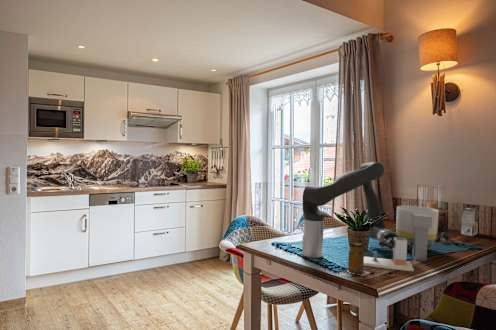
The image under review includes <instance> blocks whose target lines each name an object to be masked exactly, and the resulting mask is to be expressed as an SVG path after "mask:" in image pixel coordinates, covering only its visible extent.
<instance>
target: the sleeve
mask: <svg viewBox="0 0 496 330" xmlns="http://www.w3.org/2000/svg"><path fill="white" fill-rule="evenodd" d="M407 252H408V249H407V240H406V239H405V238H398V237H394V246H393V250H392V260H393V263H394V264H395V265H403V266H406V261H407Z"/></svg>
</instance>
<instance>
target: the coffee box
mask: <svg viewBox="0 0 496 330" xmlns="http://www.w3.org/2000/svg"><path fill="white" fill-rule="evenodd" d="M479 211H480V209H479V208H474V207H473V208H472V207H466V208H462V212H461V213H462V214H461V229H460V234H461V235H465V236H471V237H473V236H476V235H478V227H479Z"/></svg>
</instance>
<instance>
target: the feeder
mask: <svg viewBox="0 0 496 330" xmlns="http://www.w3.org/2000/svg"><path fill="white" fill-rule="evenodd" d="M411 223H412V224H413V225H414V229H413V250H412V251H411V256H412V258H413V259H414V261H421V262H426V261H427V257H428V249H427V243H428V228H431V224H432V217H431V216H430V215H429V214H425V213H412V218H411Z"/></svg>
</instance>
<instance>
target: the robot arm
mask: <svg viewBox="0 0 496 330" xmlns="http://www.w3.org/2000/svg"><path fill="white" fill-rule="evenodd" d="M384 167H385V166H384V165H383V164H382V163H380V162H378V161H371V162H364V163H362V164H361V165H360V166H359V169H355V170H351V171H347V172H344V173H341V174H340V175H337V176H336V177H335V178H334V180H333V182H332V183H330V184H328V185H322V186H320V185H314V184H313V185H312V184H309V185H307V186H305V188H304V189H303V192H302V213H303V235H302V246H301V248H302V250H301V251H302V252H301V256H302V257H303V256H304V257H308V258H312V259H313V258H314V259H315V258H316V259H318V258H319V259H320V258H322V257H323V251H324V250H323V248H324V227H325V226H324V222H325V214H324V213H323V212H322V211H321V210H320V209H319V207H322V206H325V205H326V204H328V203H330V202H331V201H333V200H334V199H336V198H337V197H340V196H342V195H344V194H347V193H349V192H352V191H353V190H355V189H357V188H359V187H361V186H362V189H363V193H364V196H365V201H366V203H365V204H366V212H367V211H368V214H369V218H370V219H369V218H368V219H369V220H374V219H373V218H375V217H378V216H381V217H382V218H381V220H380V221H379V222H378V223H377V222H376V223H377V224H376V225H375V226H374V227H373V228H371V229H370V236H369V237H368V238H369V239H373V240H377V244H378V246H379V247H381V248H384V247H385V248H387V249H389V250H391V251H393V246H394V237H398V236H397V233H396V232H393V231H391V230H389V229H387V228H386V227H387V226H386V225H385V222H384V220H383V219H384V218H383V215H382V208H381V207H382V206H381V202H380V201H381V200H380V199H379V197H378V195H377V193H376V192H375V190H374V188H373V185H372V181H375V180H378V179H380V178H382V177H383V175H384V174H385V168H384ZM406 240H407V239H406ZM407 250H409V251H410V252H412V250H413V242H411V241H409V240H407Z"/></svg>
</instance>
